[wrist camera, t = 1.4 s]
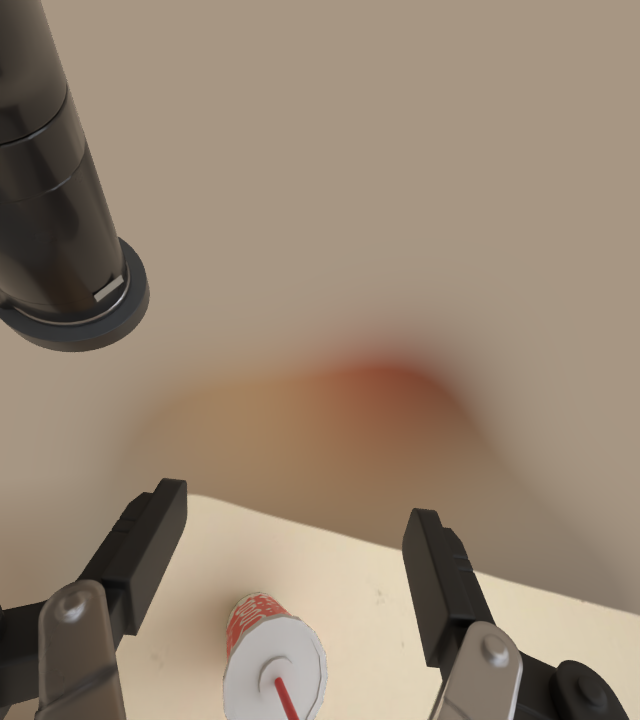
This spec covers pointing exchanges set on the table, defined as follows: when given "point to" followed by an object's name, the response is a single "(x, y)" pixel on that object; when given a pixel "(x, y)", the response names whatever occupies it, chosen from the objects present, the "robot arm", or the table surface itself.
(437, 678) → the table surface
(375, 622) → the table surface
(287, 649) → the beverage cup
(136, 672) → the table surface
